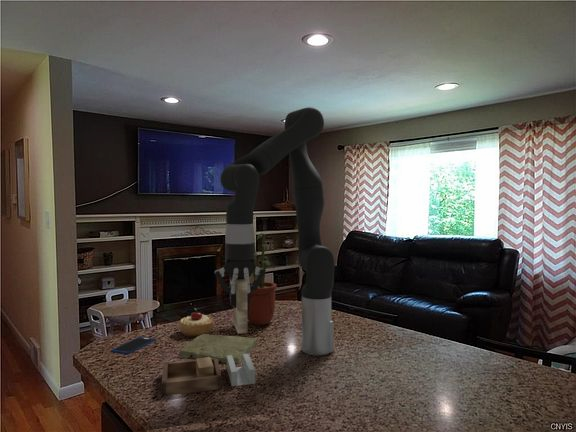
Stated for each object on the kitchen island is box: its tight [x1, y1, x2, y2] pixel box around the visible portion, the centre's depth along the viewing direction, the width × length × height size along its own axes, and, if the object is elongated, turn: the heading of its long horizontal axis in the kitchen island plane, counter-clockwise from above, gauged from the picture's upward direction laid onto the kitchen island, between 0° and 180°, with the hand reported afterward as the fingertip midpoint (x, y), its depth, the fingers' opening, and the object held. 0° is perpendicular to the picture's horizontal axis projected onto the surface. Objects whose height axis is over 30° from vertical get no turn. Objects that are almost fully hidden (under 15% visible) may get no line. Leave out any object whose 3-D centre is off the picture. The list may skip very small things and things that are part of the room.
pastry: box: [178, 307, 214, 338], centre depth 142 cm, size 12×12×9 cm
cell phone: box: [110, 336, 157, 355], centre depth 129 cm, size 7×14×1 cm, turn 162°
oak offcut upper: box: [195, 357, 214, 377], centre depth 101 cm, size 4×6×2 cm, turn 19°
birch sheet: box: [232, 279, 248, 334], centre depth 104 cm, size 2×9×13 cm, turn 15°
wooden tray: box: [161, 358, 223, 397], centre depth 101 cm, size 14×12×4 cm
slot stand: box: [226, 353, 256, 387], centre depth 104 cm, size 6×11×4 cm, turn 15°
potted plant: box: [247, 232, 277, 326], centre depth 153 cm, size 17×16×35 cm
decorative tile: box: [177, 333, 258, 364], centre depth 123 cm, size 19×20×4 cm
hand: (240, 306), depth 104 cm, fingers closed on birch sheet, 2 cm apart
